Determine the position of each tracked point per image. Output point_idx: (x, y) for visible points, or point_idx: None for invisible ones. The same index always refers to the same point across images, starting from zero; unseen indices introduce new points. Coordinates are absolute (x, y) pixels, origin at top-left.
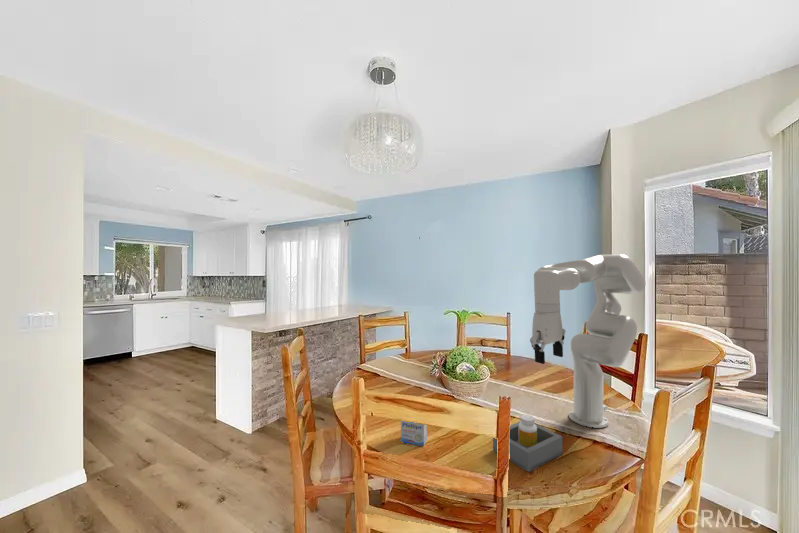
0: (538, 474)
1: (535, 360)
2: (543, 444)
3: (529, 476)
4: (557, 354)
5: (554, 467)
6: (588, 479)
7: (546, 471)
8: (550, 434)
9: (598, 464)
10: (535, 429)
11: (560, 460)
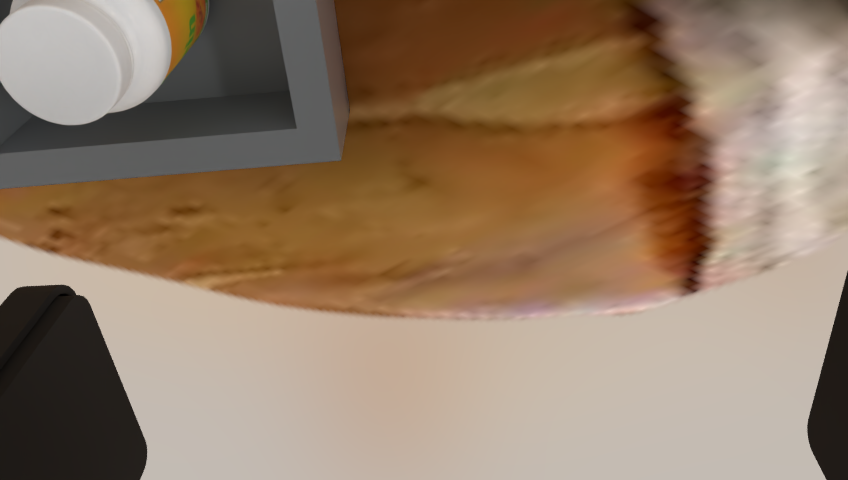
0: None
1: (15, 307)
2: (134, 169)
3: None
4: (842, 388)
5: None
6: (289, 293)
7: None
8: (292, 96)
9: (446, 250)
10: (117, 111)
11: None
